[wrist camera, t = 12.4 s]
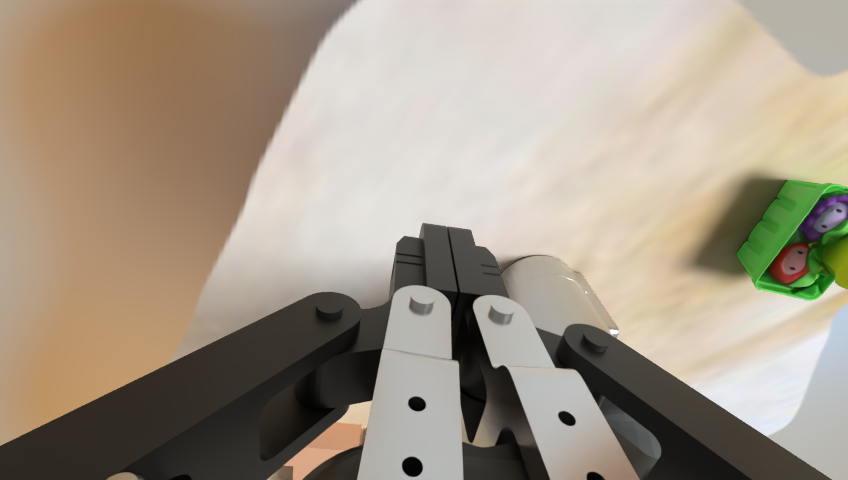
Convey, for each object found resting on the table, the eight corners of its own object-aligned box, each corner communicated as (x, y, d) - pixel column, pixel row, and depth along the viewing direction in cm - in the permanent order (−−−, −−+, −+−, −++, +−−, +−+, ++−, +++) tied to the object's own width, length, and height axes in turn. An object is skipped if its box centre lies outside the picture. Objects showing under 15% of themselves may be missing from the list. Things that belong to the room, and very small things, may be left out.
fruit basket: (783, 164, 41) (905, 211, 31) (858, 184, 42) (997, 236, 32) (717, 261, 46) (803, 329, 36) (785, 277, 47) (886, 346, 37)
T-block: (361, 424, 56) (358, 451, 53) (353, 478, 62) (349, 506, 58) (270, 416, 55) (261, 443, 52) (270, 472, 61) (262, 500, 57)
